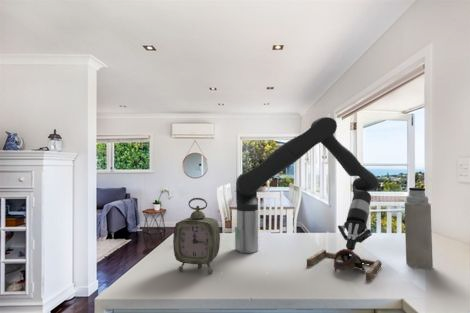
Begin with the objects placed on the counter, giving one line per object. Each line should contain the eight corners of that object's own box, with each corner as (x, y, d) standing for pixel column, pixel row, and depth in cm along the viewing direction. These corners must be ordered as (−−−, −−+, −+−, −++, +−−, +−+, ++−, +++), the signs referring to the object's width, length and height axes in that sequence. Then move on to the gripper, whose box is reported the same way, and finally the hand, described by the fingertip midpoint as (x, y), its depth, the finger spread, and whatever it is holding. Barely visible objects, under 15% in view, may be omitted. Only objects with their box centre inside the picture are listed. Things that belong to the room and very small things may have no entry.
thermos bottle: (403, 260, 103) (401, 186, 105) (428, 262, 101) (425, 187, 102) (409, 267, 96) (407, 188, 97) (436, 270, 93) (433, 188, 94)
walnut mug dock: (324, 255, 110) (324, 248, 110) (381, 266, 97) (381, 259, 97) (306, 266, 98) (306, 259, 98) (369, 281, 84) (369, 273, 85)
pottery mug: (372, 278, 88) (362, 257, 87) (344, 289, 90) (334, 269, 88) (357, 256, 100) (348, 238, 99) (333, 266, 102) (324, 249, 100)
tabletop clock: (172, 273, 92) (173, 198, 93) (183, 263, 101) (184, 196, 102) (213, 276, 89) (213, 199, 90) (221, 266, 97) (221, 196, 99)
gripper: (339, 205, 115) (329, 241, 105) (374, 208, 107) (366, 247, 97) (344, 216, 119) (334, 251, 109) (377, 220, 110) (370, 258, 100)
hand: (349, 249), depth 103 cm, fingers closed
